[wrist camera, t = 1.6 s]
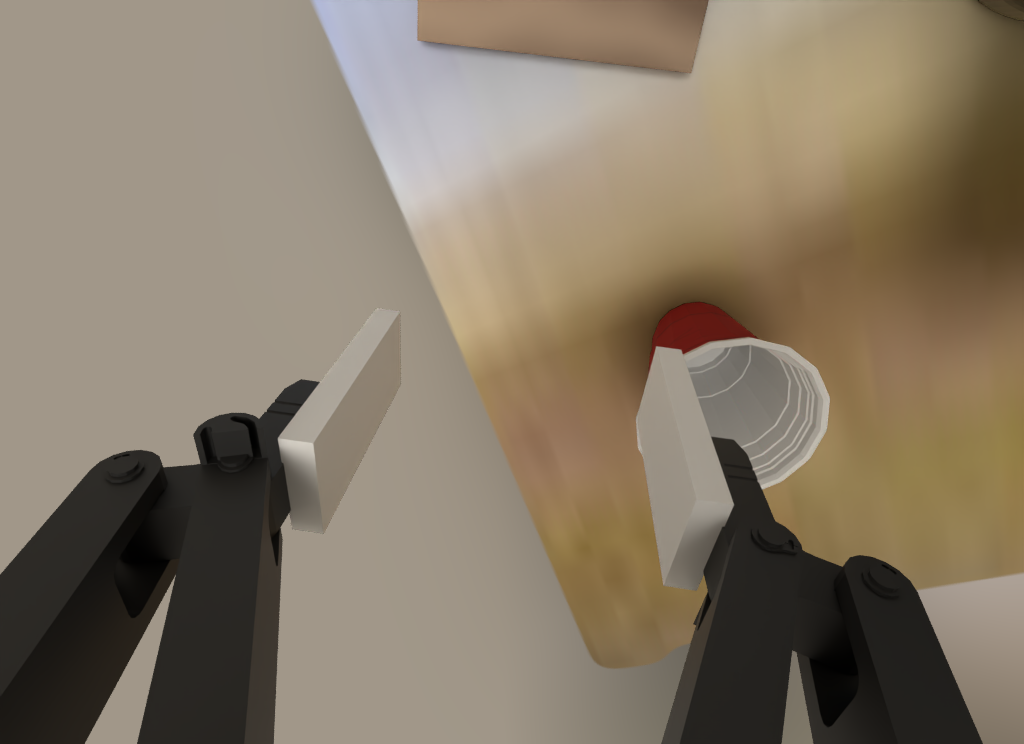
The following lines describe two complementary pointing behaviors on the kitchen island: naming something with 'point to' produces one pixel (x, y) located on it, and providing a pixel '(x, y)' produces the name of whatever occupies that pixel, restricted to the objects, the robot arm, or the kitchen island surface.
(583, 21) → the housing
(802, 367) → the plastic cup
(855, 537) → the kitchen island surface
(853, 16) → the kitchen island surface
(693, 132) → the kitchen island surface
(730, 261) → the kitchen island surface
